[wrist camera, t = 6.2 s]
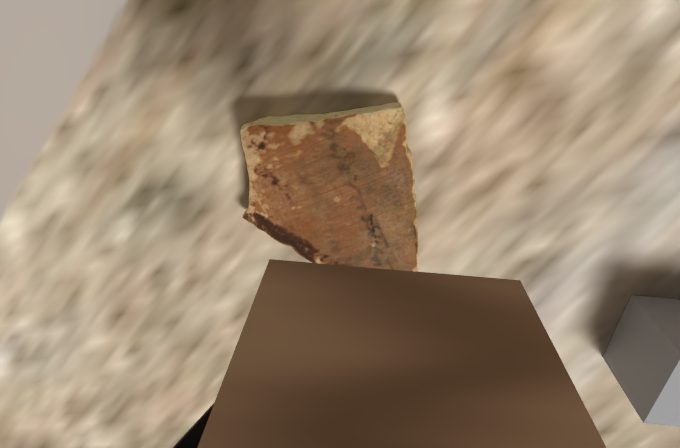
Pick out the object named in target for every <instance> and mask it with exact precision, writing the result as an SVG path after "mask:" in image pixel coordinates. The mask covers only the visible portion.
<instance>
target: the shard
mask: <svg viewBox="0 0 680 448" xmlns="http://www.w3.org/2000/svg"><path fill="white" fill-rule="evenodd" d="M240 136H241V142H242V147H243V151H244V153H245V160H246V164H247V170H248V174H249V184H250V186H249V206H248V209H247V210H246V212H245V213H244V215H243V218H244V219H246V220H247V221H248V222H250V223H252V224H254V225H255V226H256V227H257V228H258V229H260V230H262V231H265V232H266V233H267V234H268V235H269V236H270V237H272V238H273V239H275V240H277V241H278V242H280V243H282V244H284V245H287V246H290V247H292V248H293V249H294V250H295V251H296V252H297V253H298V254H299V255H300V256H302V257H304V258H306V259H307V260H309V261H310V262H312V263H318V264H330V265H342V266H354V267H366V268H378V269H390V270H402V271H413V272H417V252H418V232H417V226H416V218H417V205H416V196H415V193H414V184H415V180H414V177H413V163H412V155H411V151H410V149H409V148H408V146H407V142H406V117H405V115H404V112H403V106H402V105H401V104H400V103H397V102H393V103H386V104H381V105H378V106H371V107H364V108H357V109H351V110H346V111H340V112H330V113H325V114H301V115H297V114H295V115H291V116H283V117H279V116H268V117H265V118H259V119H258V120H256V121H253V122H250V123H245V124H244V125H243V126H242V127H241V130H240Z"/></svg>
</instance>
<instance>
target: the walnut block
mask: <svg viewBox="0 0 680 448" xmlns="http://www.w3.org/2000/svg"><path fill="white" fill-rule="evenodd" d="M197 448H606V446H605V444H604V442H603V440H602V439H601V437H600V435H599V433H598V431H597V429H596V427H595V425H594V423H593V421H592V419H591V417H590V415H589V413H588V411H587V409H586V408H585V406H584V404H583V402H582V400H581V398H580V396H579V394H578V392H577V390H576V388H575V386H574V384H573V382H572V380H571V378H570V376H569V375H568V373H567V371H566V369H565V367H564V365H563V363H562V361H561V359H560V357H559V355H558V353H557V351H556V349H555V347H554V345H553V343H552V342H551V340H550V338H549V336H548V334H547V332H546V330H545V328H544V326H543V324H542V322H541V320H540V318H539V316H538V314H537V312H536V311H535V309H534V307H533V305H532V303H531V301H530V299H529V297H528V295H527V293H526V291H525V289H524V287H523V285H522V283H521V281H520V280H509V279H497V278H485V277H473V276H461V275H449V274H437V273H425V272H413V271H402V270H390V269H378V268H366V267H354V266H342V265H330V264H318V263H306V262H295V261H283V260H271V259H270V260H269V263H268V265H267V268H266V270H265V273H264V276H263V278H262V281H261V283H260V286H259V289H258V291H257V294H256V296H255V299H254V302H253V304H252V307H251V309H250V312H249V315H248V317H247V320H246V322H245V325H244V328H243V330H242V333H241V335H240V338H239V341H238V343H237V346H236V348H235V351H234V354H233V356H232V359H231V361H230V364H229V367H228V369H227V372H226V374H225V377H224V380H223V382H222V385H221V387H220V390H219V393H218V395H217V398H216V400H215V403H214V406H213V408H212V411H211V413H210V416H209V419H208V421H207V424H206V427H205V429H204V432H203V434H202V437H201V440H200V442H199V445H198V447H197Z"/></svg>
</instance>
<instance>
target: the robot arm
mask: <svg viewBox="0 0 680 448" xmlns="http://www.w3.org/2000/svg"><path fill="white" fill-rule="evenodd" d="M213 406H214V404H213V405H212V406H211V407H210V408H209V409H208V410H207V411H206V412H205V413H204V415H203V416H202V417H201V418H200V419H199V420H198V421H197V422H196V423H195V424H194V425H193V426H192V427H191V429H190V430H189V431H188V432H187V433H186V434H185V435H184V436H183V437H182V438H181V439H180V440H179V442H178V443H177V444H176V445H175V446H174V447H173V448H197V447H198V445H199V442H200V440H201V437H202V434H203V432H204V429H205V427H206V424H207V421H208V419H209V416H210V413H211V411H212V408H213Z"/></svg>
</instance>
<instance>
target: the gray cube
mask: <svg viewBox="0 0 680 448" xmlns="http://www.w3.org/2000/svg"><path fill="white" fill-rule="evenodd" d="M603 358H604V360H605V362H606V363H607V365H608V366H609V368H610V370H611V371H612V373H613V374H614V376H615V378H616V379H617V381H618V383H619V384H620V386H621V387H622V389H623V391H624V392H625V394H626V395H627V397H628V399H629V400H630V402H631V403H632V405H633V407H634V408H635V410H636V412H637V413H638V415H639V416H640V418H641V420H642V421H643V423H649V424H659V425H669V426H679V427H680V299H672V298H661V297H649V296H638V295H631V297H630V299H629V301H628V303H627V305H626V307H625V310H624V312H623V314H622V316H621V318H620V320H619V323H618V325H617V327H616V329H615V331H614V334H613V336H612V338H611V340H610V342H609V344H608V347H607V349H606V351H605V353H604V355H603Z"/></svg>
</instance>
